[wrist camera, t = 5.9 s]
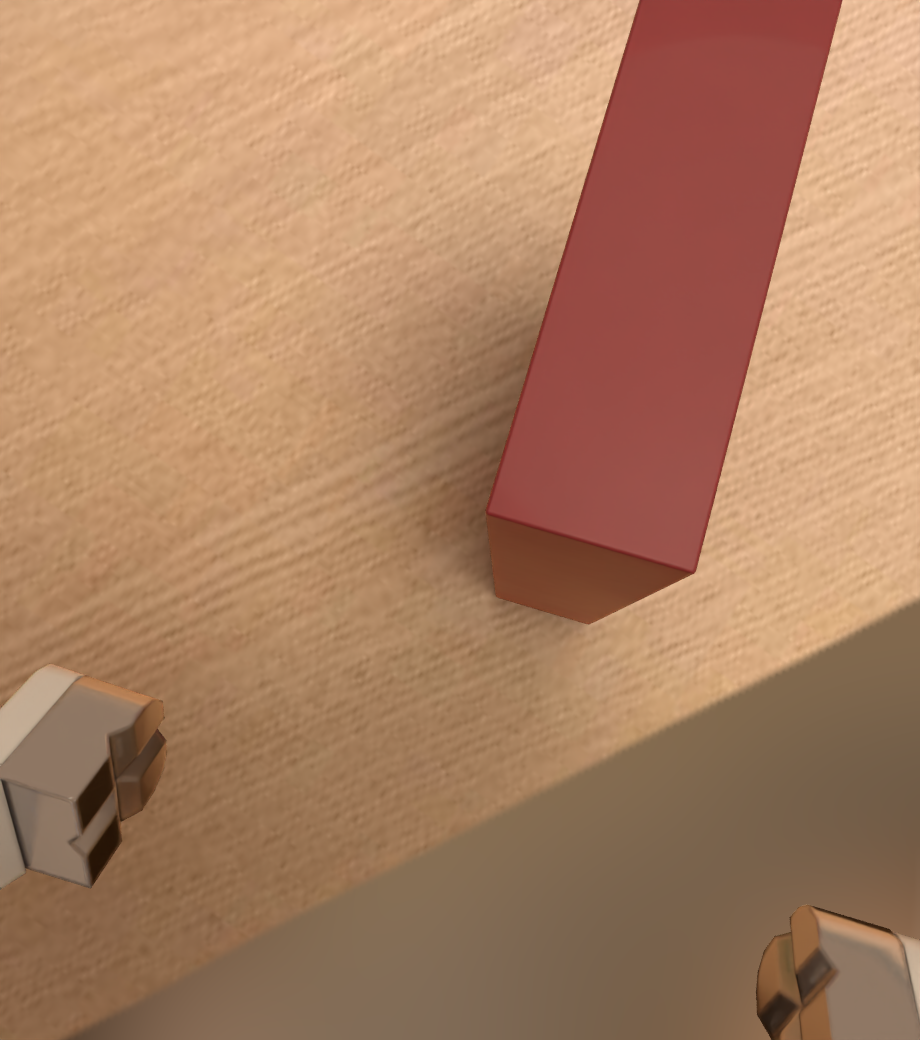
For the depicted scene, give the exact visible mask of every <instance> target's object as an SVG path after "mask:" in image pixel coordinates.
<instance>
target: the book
mask: <svg viewBox="0 0 920 1040" xmlns="http://www.w3.org/2000/svg"><path fill="white" fill-rule="evenodd" d="M841 4H842V0H640V1H639V4H638V7H637V10H636V14H635V17H634V20H633V24H632V27H631V30H630V34H629V37H628V40H627V44H626V47H625V50H624V53H623V57H622V60H621V63H620V67H619V70H618V73H617V77H616V80H615V83H614V87H613V90H612V93H611V96H610V100H609V103H608V106H607V110H606V113H605V116H604V120H603V123H602V126H601V130H600V133H599V136H598V139H597V143H596V146H595V149H594V153H593V156H592V159H591V163H590V166H589V169H588V173H587V176H586V179H585V182H584V186H583V189H582V192H581V196H580V199H579V202H578V206H577V209H576V212H575V216H574V219H573V222H572V225H571V229H570V232H569V235H568V239H567V242H566V245H565V249H564V252H563V255H562V259H561V262H560V265H559V268H558V272H557V275H556V278H555V282H554V285H553V288H552V292H551V295H550V298H549V302H548V305H547V308H546V311H545V315H544V318H543V321H542V325H541V328H540V331H539V335H538V338H537V341H536V345H535V348H534V351H533V354H532V358H531V361H530V364H529V368H528V371H527V374H526V378H525V381H524V384H523V388H522V391H521V394H520V397H519V401H518V404H517V407H516V411H515V414H514V417H513V421H512V424H511V427H510V431H509V434H508V437H507V440H506V444H505V447H504V450H503V454H502V457H501V460H500V464H499V467H498V470H497V474H496V477H495V480H494V483H493V487H492V490H491V493H490V497H489V500H488V503H487V507H486V510H485V511H486V520H487V528H488V536H489V544H490V552H491V560H492V568H493V577H494V585H495V593H496V597H498V598H501V599H505V600H508V601H511V602H515V603H518V604H521V605H525V606H528V607H531V608H535V609H538V610H541V611H545V612H548V613H551V614H555V615H558V616H562V617H565V618H568V619H572V620H575V621H578V622H582V623H585V624H591V623H593V622H595V621H597V620H599V619H601V618H604V617H606V616H608V615H610V614H612V613H614V612H616V611H618V610H620V609H622V608H624V607H626V606H628V605H630V604H632V603H634V602H636V601H638V600H640V599H642V598H645V597H647V596H649V595H651V594H653V593H655V592H657V591H659V590H661V589H663V588H665V587H667V586H669V585H671V584H673V583H675V582H677V581H679V580H681V579H683V578H686V577H688V576H690V575H692V574H694V573H695V571H696V568H697V565H698V561H699V557H700V553H701V549H702V545H703V541H704V537H705V533H706V530H707V526H708V522H709V518H710V514H711V510H712V506H713V502H714V498H715V495H716V491H717V487H718V483H719V479H720V475H721V471H722V467H723V463H724V459H725V456H726V452H727V448H728V444H729V440H730V436H731V432H732V428H733V424H734V421H735V417H736V413H737V409H738V405H739V401H740V397H741V393H742V389H743V386H744V382H745V378H746V374H747V370H748V366H749V362H750V358H751V354H752V350H753V347H754V343H755V339H756V335H757V331H758V327H759V323H760V319H761V315H762V312H763V308H764V304H765V300H766V296H767V292H768V288H769V284H770V280H771V277H772V273H773V269H774V265H775V261H776V257H777V253H778V249H779V245H780V241H781V238H782V234H783V230H784V226H785V222H786V218H787V214H788V210H789V206H790V203H791V199H792V195H793V191H794V187H795V183H796V179H797V175H798V171H799V168H800V164H801V160H802V156H803V152H804V148H805V144H806V140H807V136H808V132H809V129H810V125H811V121H812V117H813V113H814V109H815V105H816V101H817V97H818V94H819V90H820V86H821V82H822V78H823V74H824V70H825V66H826V62H827V59H828V55H829V51H830V47H831V43H832V39H833V35H834V31H835V27H836V23H837V20H838V16H839V12H840V8H841Z"/></svg>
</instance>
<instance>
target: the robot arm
mask: <svg viewBox="0 0 920 1040" xmlns="http://www.w3.org/2000/svg"><path fill="white" fill-rule="evenodd" d="M164 718H165V717H164V709H163V702H162V701H161V700H158V699H155V698H152V697H149V696H146V695H143V694H140V693H137V692H134V691H131V690H128V689H125V688H122V687H119V686H116V685H113V684H110V683H107V682H104V681H101V680H98V679H95V678H92V677H89V676H88V675H84V674H81V673H78V672H75V671H72V670H68V669H65V668H62V667H59V666H56V665H53V664H48V665H46V666H44V667H42V668H41V669H39V670H37V671H36V672H34V673H33V674H32V675H31V676H30V677H29V678H28V679H27V680H26V682H25V683H24V684H23V685H22V686H21V687H20V688H19V689H18V690H17V691H16V692H15V693H14V694H13V695H12V696H11V697H10V698H9V700H8V701H7V702H6V703H5V704H4V705H3V706H2V707H1V708H0V889H2V888H4V887H5V886H7V885H8V884H10V883H11V882H13V881H14V880H16V879H17V878H19V877H21V876H22V875H24V874H25V873H26V869H25V868H27V869H30V870H33V871H36V872H39V873H43V874H46V875H49V876H52V877H55V878H59V879H62V880H65V881H68V882H72V883H75V884H78V885H81V886H84V887H88V888H91V887H92V886H93V884H94V883H95V881H96V880H97V878H98V877H99V875H100V874H101V872H102V871H103V869H104V868H105V866H106V865H107V863H108V862H109V860H110V859H111V857H112V856H113V854H114V853H115V851H116V850H117V848H118V847H119V845H120V844H121V842H122V832H121V822H122V821H123V820H125V819H127V818H129V817H131V816H133V815H135V814H137V813H138V812H140V811H142V810H143V808H144V807H145V805H146V804H147V802H148V800H149V799H150V797H151V796H152V794H153V793H154V791H155V789H156V786H157V784H158V782H159V779H160V777H161V774H162V772H163V770H164V765H165V760H166V755H167V745H166V739H165V738H164V737H163V736H162V734H161V733H160V732H159V731H158V729H157V728H158V727H159V725H160V724H161V722H162V721H163V719H164ZM790 927H791V932H789V933H786V934H782V935H778V936H774V938H773V939H772V941H771V942H770V943H769V945H768V946H767V947H766V949H765V950H764V953H763V956H762V959H761V963H760V966H759V970H758V975H757V988H756V996H757V997H756V1000H757V1015H758V1017H759V1019H760V1020H761V1022H762V1024H763V1026H764V1027H765V1029H766V1030H767V1032H768V1034H769V1036H770V1038H771V1039H772V1040H920V940H919V939H916V938H912V937H909V936H906V935H902V934H899V933H896V932H892V931H891V930H890V929H887V928H884V927H881V926H877V925H874V924H871V923H867V922H864V921H861V920H857V919H854V918H851V917H847V916H844V915H841V914H837V913H834V912H831V911H827V910H824V909H820V908H817V907H814V906H811V905H805V906H800V907H798V908H797V910H796V911H795V912H794V913H793V914H792V916H791V917H790Z"/></svg>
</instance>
